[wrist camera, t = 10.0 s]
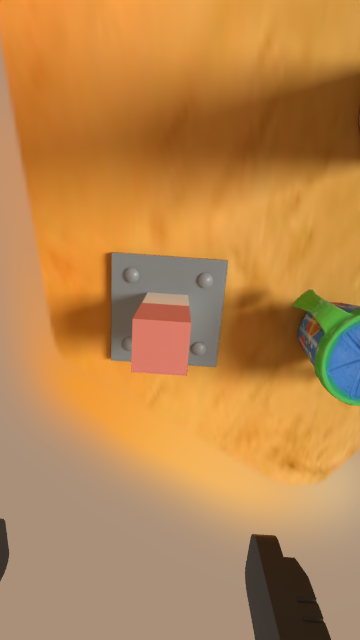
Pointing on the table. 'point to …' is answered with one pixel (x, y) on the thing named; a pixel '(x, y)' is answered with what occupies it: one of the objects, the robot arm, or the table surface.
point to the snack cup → (332, 344)
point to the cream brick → (166, 299)
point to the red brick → (161, 339)
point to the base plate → (170, 278)
